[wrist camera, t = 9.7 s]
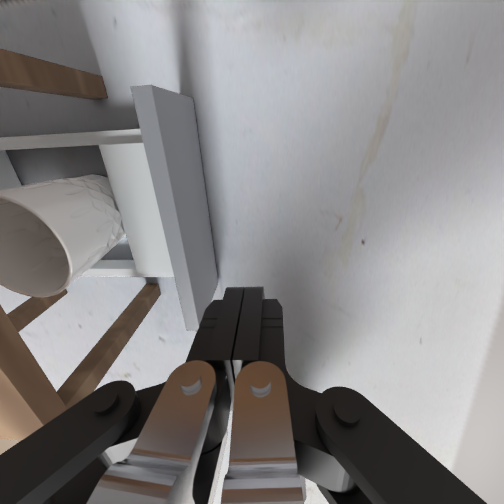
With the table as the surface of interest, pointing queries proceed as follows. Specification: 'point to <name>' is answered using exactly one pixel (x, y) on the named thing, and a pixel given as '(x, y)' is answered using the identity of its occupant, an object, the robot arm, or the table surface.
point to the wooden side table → (7, 326)
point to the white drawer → (150, 195)
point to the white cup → (55, 232)
